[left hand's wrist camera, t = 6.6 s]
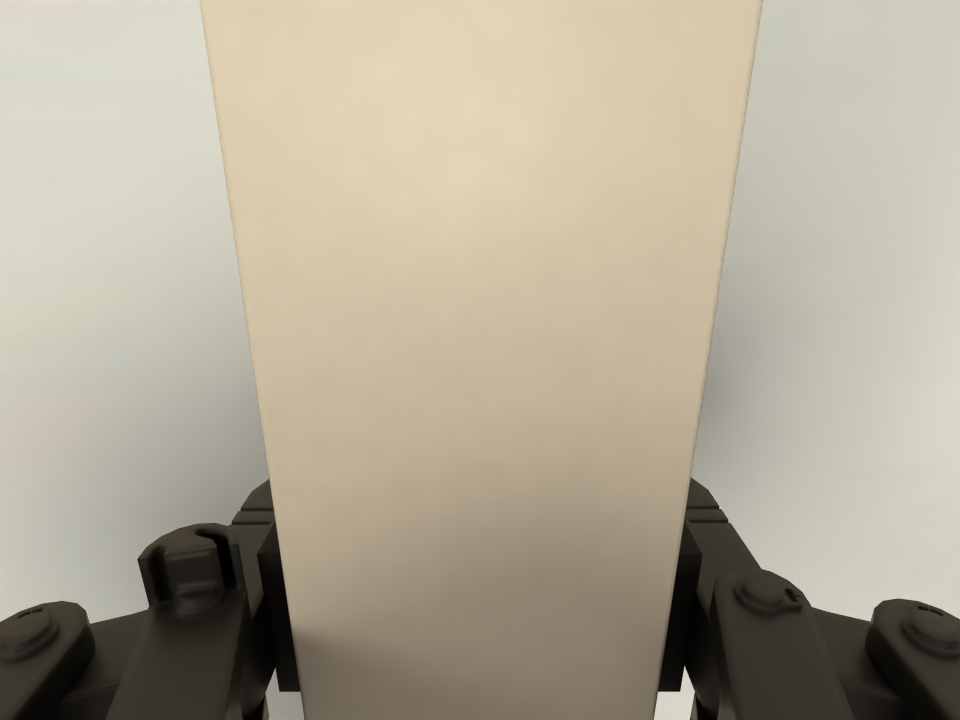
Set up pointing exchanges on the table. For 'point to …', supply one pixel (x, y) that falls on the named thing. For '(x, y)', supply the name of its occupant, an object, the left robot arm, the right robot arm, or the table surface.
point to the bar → (480, 331)
